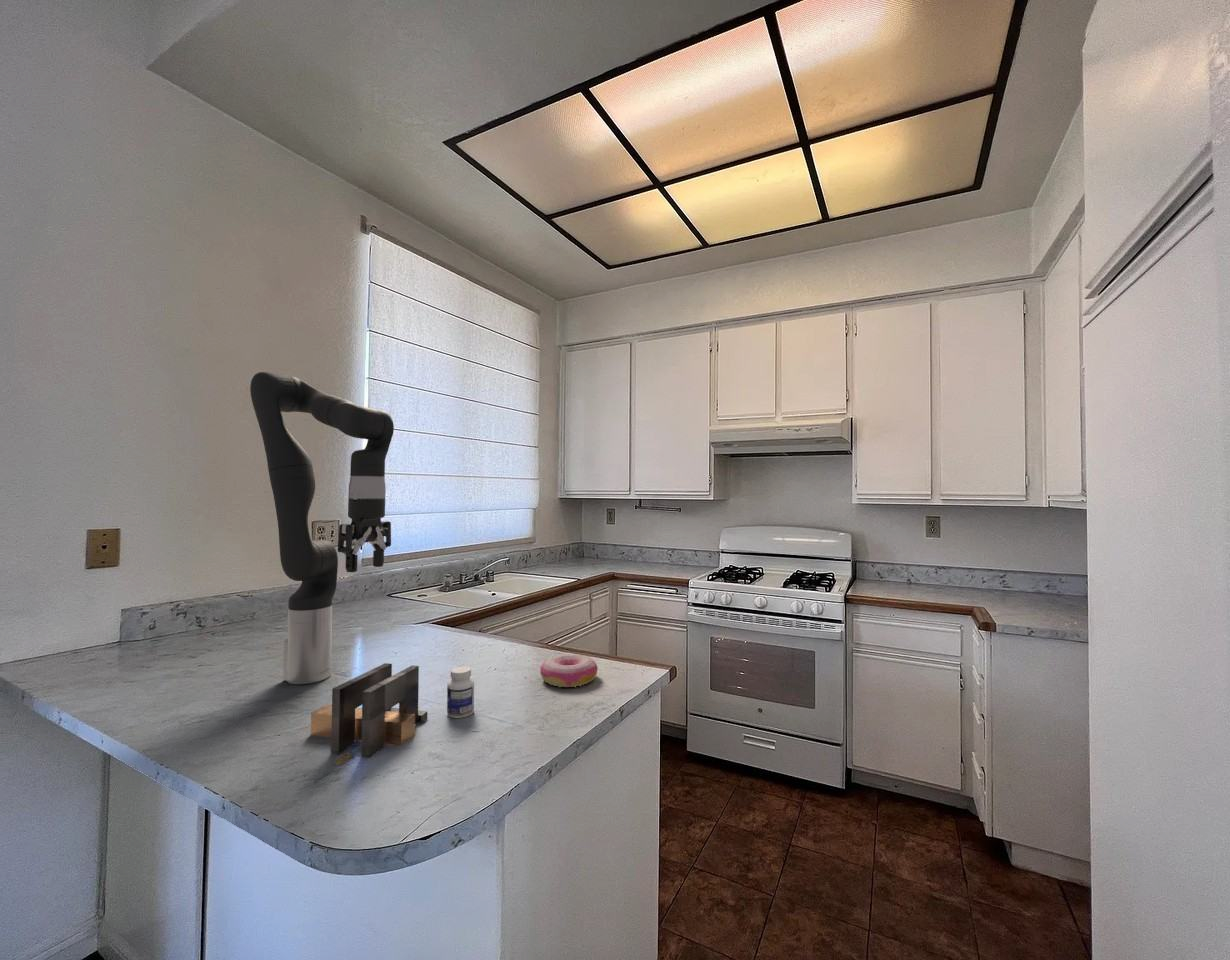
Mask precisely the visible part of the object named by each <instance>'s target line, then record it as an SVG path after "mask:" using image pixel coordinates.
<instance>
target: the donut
mask: <svg viewBox="0 0 1230 960" xmlns="http://www.w3.org/2000/svg"><path fill="white" fill-rule="evenodd" d="M597 675H598V665H597V663H596V661H595V660H594V659H593V658H591V657H589V656H586V655H583V654H577V653H576V654H573V653H567V654H566V653H565V654H559V655H555V656H552V657H548V658H546V660H545V661H543V663H542V664H541V666H540V676H541V678H542V680H543V681H544V682H546V683H547V684H548V683H549V684H548V685H550V684H551V685H550V686H552V685H554V686H553V687H555V686H558V687H557V688H561V687H575V686H580V685H583V686H585V685H584V684H586V685H588V684H589V682H590V683H591V682H593V681H594V680H595V678H596V676H597ZM587 683H588V684H587ZM580 687H581V686H580ZM575 688H576V687H575Z"/></svg>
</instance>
